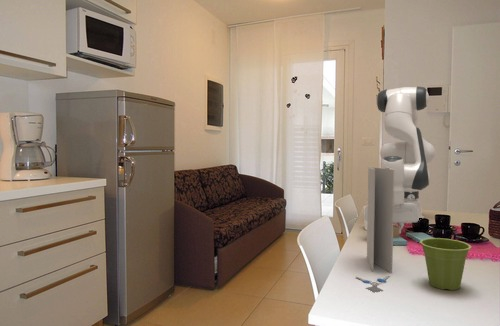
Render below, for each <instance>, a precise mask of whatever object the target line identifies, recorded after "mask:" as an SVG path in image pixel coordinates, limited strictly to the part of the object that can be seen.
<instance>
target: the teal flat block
mask: <svg viewBox="0 0 500 326" xmlns="http://www.w3.org/2000/svg"><path fill="white" fill-rule="evenodd" d="M407 236H408V237H410V238H412V239H413V240H412V239H411V240H412V241H414V240H415V241H414V242H416V241H417V242H419V243H420V241H421V240H423V239H428V238H434V237H433V236H431V235H429V234H427V233H425V232H406V233H405V237H407ZM408 237H407V238H408ZM410 238H409V239H410ZM417 242H416V243H417ZM419 243H418V244H419Z"/></svg>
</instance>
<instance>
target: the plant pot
mask: <svg viewBox="0 0 500 326" xmlns="http://www.w3.org/2000/svg"><path fill="white" fill-rule="evenodd" d="M420 243H421V244H422V245H421V244H420V245H421V246H422V251H423V254H424V259H425V265H426V271H427V279H428V282H429V284H430V286H432V287H434V288H437V289H440V290H449V291H455V290H459V289H460V288H461V284H462V280H463V274H464V269H465V265H466V259H467V257H468V254H469V251H470V250H471V249H472V245H470V244H469V243H467V242H465V241H460V240H457V239H456V240H455V239H450V238H441V237H433V238H428V239H423V240H421V241H420Z"/></svg>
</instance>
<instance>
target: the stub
mask: <svg viewBox="0 0 500 326" xmlns="http://www.w3.org/2000/svg"><path fill="white" fill-rule="evenodd" d="M393 246H408V240H406V239H405V238H403V237H401V236H400V234H399V227H398V226H397V225H396V224H393Z"/></svg>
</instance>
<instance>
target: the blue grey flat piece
mask: <svg viewBox="0 0 500 326" xmlns="http://www.w3.org/2000/svg"><path fill="white" fill-rule="evenodd" d="M390 277H391V276H390V275H387V276H385V277H384V278H380V277H379V278H377V280H376V281H372V280H368V279H365V278H362V277H359V276H355V279H358V280H360V281H362V282H363V283H364V284H370V285H372V286H370V287H369V286H368V287H365V289H366V290H367V289H368V291H369V290H370V292H371V291H372V292H371V293H373V294H374V293H375V292H376V293H380V291H381V292H384V289H381V288H379V287H378V286H380V285H381V284H386V283H387V280H388V278H390ZM376 293H375V294H376Z"/></svg>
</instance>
